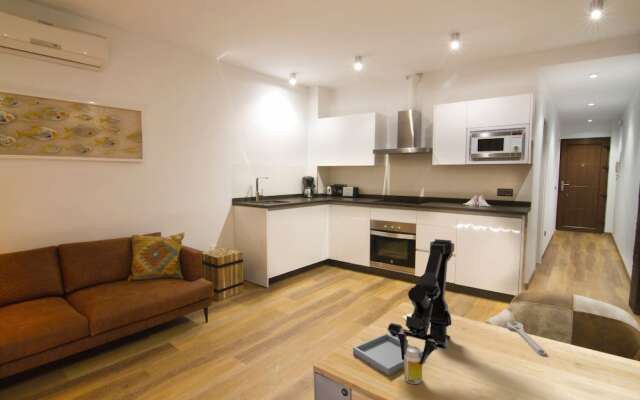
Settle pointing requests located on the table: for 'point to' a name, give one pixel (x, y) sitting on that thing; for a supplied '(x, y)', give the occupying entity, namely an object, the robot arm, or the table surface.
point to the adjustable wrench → (526, 337)
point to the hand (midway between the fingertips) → (411, 362)
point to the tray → (382, 353)
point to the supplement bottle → (412, 365)
